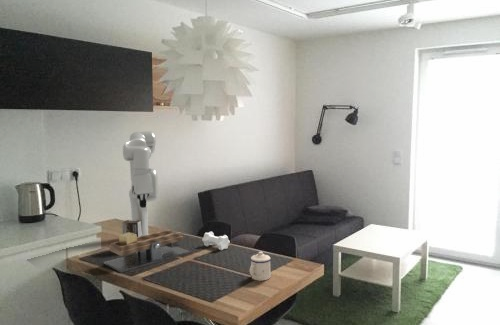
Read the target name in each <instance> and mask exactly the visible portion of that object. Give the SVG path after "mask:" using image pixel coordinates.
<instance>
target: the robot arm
mask: <svg viewBox="0 0 500 325" xmlns="http://www.w3.org/2000/svg"><path fill="white" fill-rule="evenodd" d="M156 142H157V139H156V135H155V133H154V132H152V131H135V132H132V133H131V134H130V136H129V140H128V141H126V142H124V144H123V145H122V146H123V147H122V156H123V159H124V160H125V161H126V162H129V168H130V170H129V171H130V182H131V183H130V184H131V186H130V187H131V188H130V189H129V191H128V192H129V193H128V198H129V202H130V210H131V213H130V214H131V220H142V236H144V235H149V234H150V233H149V223H148V222H149V221H148V219H149V217H148V207H147V203H148V202H156V201H158V200H159V196H160V194H159V180H158V172H157V170H156V169H155V168H150V159H151V157H152V154H154V152H155V150H156Z"/></svg>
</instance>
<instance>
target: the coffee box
mask: <svg viewBox="0 0 500 325" xmlns="http://www.w3.org/2000/svg"><path fill="white" fill-rule="evenodd" d="M121 226H122V227H121V228H122V234H125V233H129V232H130V233H134V234H137V237H140V236H142V220H132V219H125V220H124V221H123V222H122V224H121Z"/></svg>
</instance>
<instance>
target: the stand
mask: <svg viewBox="0 0 500 325" xmlns="http://www.w3.org/2000/svg"><path fill="white" fill-rule="evenodd" d="M150 245H151V248H150V249H147V250H143V251H139V252H135V253H132V254H128V255H124V256H120V257H117V258H113V259H110V260H105V261H103V264H104V265H106V266H107V267H109V268H112V269H113V270H115V271H117V272H118V273H120V274H121V273H125V272H127V271H128V272H129V271H131V270H132V271H133V270H136V269H139V268H143V267H145V266H150V265H153V264H156V263H159V262H160V263H161V262H164V261H167V260H171V259H174V258H177V257H181V256H185V255H188V254H189V255H190V254H191V251H190V250H188V249H185V248H182V247H180V246H177V247H173V248H171V247H168V246H165V245H163V246H161V242H160V241H157V242H153V243H150Z"/></svg>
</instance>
